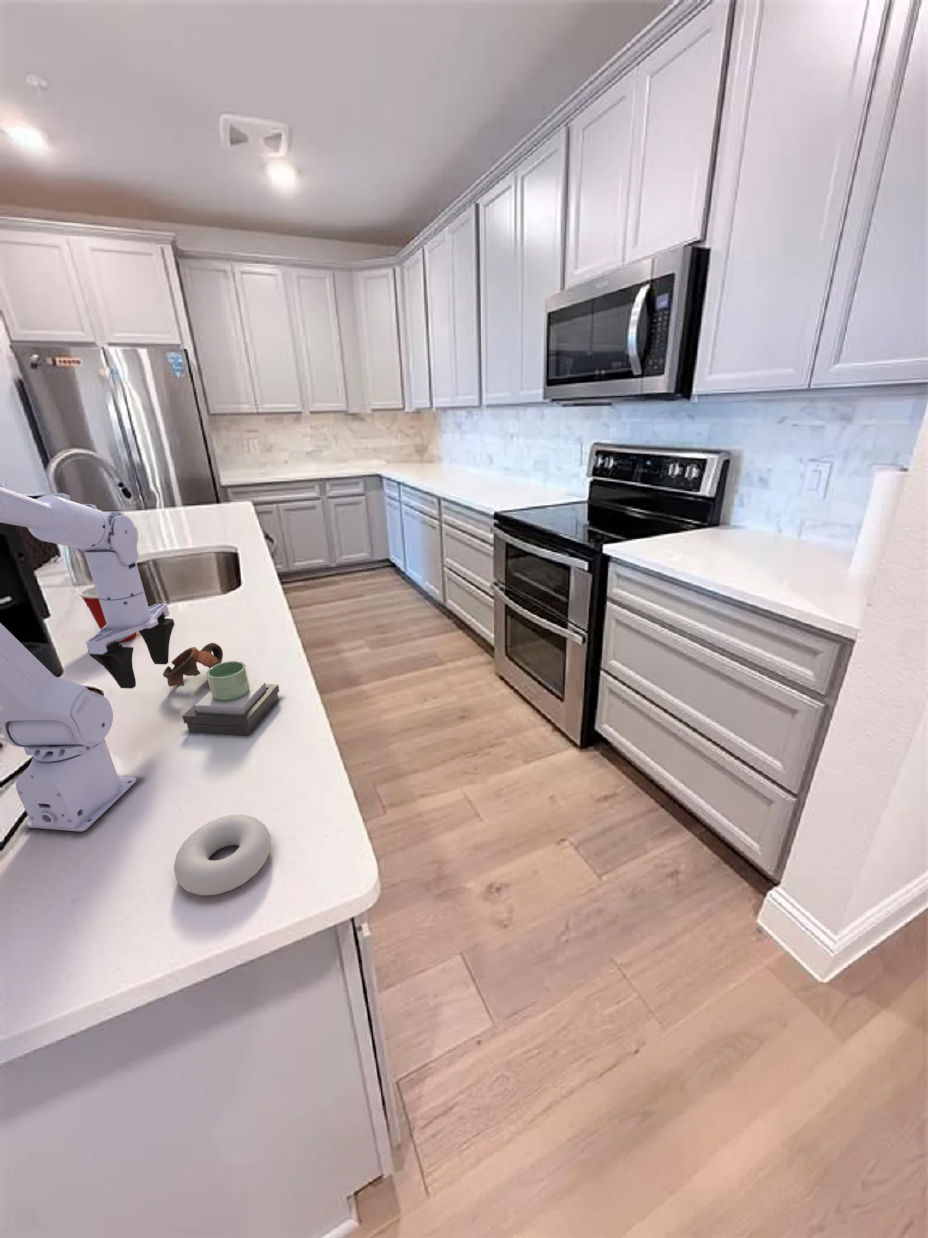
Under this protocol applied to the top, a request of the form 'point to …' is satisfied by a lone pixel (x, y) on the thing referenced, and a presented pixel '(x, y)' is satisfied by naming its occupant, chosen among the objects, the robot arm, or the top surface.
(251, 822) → the donut
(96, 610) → the plastic cup
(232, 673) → the bowl
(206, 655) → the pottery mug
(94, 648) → the robot arm
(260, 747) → the top surface
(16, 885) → the top surface
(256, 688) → the scale pan
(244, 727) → the scale
